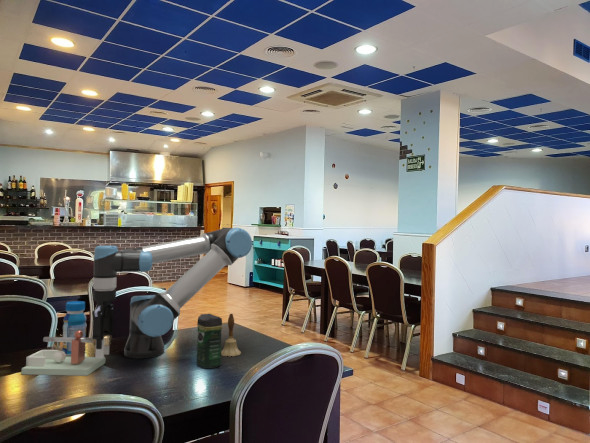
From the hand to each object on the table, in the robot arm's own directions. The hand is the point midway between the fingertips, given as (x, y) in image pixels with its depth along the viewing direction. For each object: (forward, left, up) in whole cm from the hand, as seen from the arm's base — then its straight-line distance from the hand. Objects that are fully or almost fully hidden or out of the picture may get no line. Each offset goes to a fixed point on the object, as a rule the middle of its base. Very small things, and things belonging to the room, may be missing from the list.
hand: (102, 355), depth 152 cm
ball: (+15, 0, -1) cm, 15 cm away
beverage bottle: (+19, -18, -5) cm, 26 cm away
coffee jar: (-36, -7, -5) cm, 37 cm away
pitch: (+13, 0, -5) cm, 14 cm away
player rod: (+9, 0, -2) cm, 9 cm away
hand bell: (-42, -22, -5) cm, 48 cm away
